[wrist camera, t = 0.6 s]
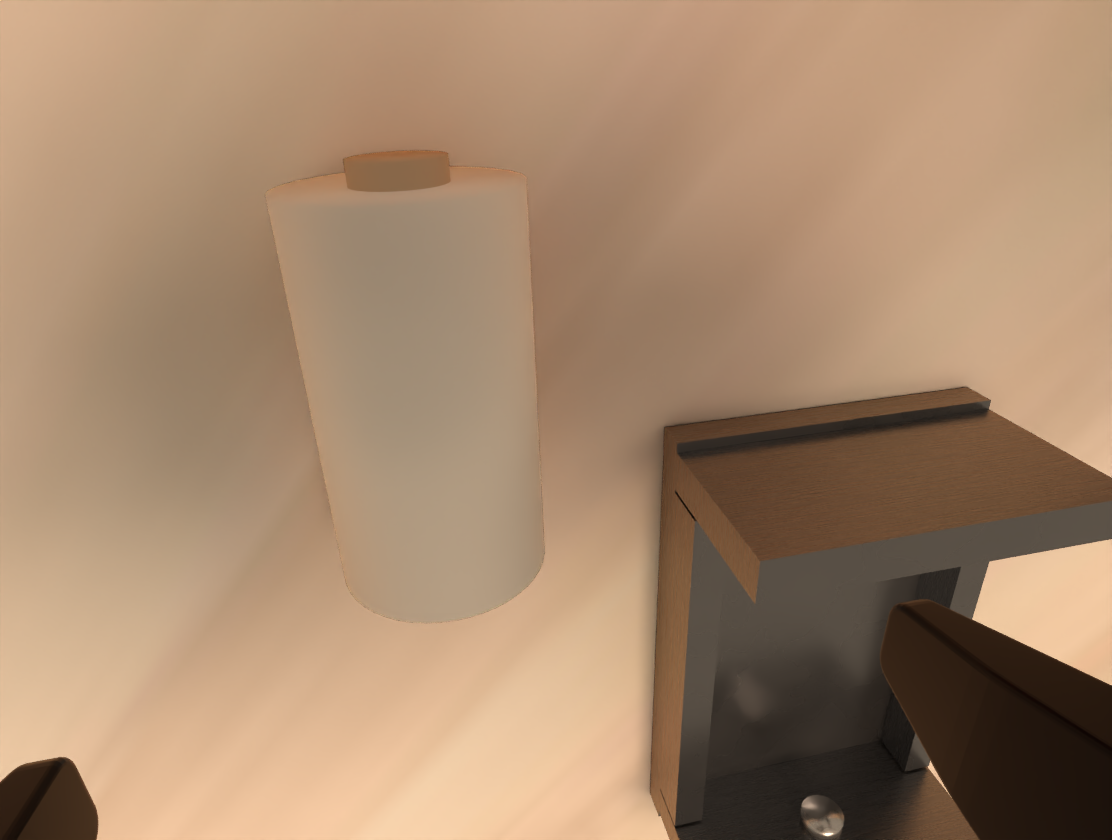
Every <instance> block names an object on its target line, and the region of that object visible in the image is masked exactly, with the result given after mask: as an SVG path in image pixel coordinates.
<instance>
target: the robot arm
mask: <svg viewBox="0 0 1112 840" xmlns="http://www.w3.org/2000/svg"><path fill="white" fill-rule="evenodd" d="M880 663H881V668H882V671H883V673H884V676H885V678H886V680H887V681H888V683H889V685H890V687H891V689H892V691H893V693H894V694H895V696H896V698H897V700H898V702H899V704H900V705H901V707H902V709H903V711H904V713H905V715H906V716H907V718H908V720H909V722H910V724H911V726H912V727H913V729H914V731H915V733H916V735H917V737H918V739H919V740H920V742H921V744H922V746H923V748H924V750H925V751H926V753H927V755H928V757H929V759H930V761H931V762H932V764H933V766H934V768H935V770H936V772H937V773H938V775H939V777H940V779H941V780H942V782H943V784H944V786H945V787H946V789H947V791H948V792H949V794H950V796H951V797H952V799H953V801H954V802H955V804H956V805H957V807H958V808H959V810H960V812H961V813H962V815H963V816H964V818H965V819H966V821H967V822H968V824H969V825H970V827H971V828H972V830H973V831H974V833H975V834H976V836H977V837H978V839H979V840H1112V685H1109V684H1107V683H1105V682H1103V681H1101V680H1099V679H1097V678H1095V677H1092V676H1090V675H1088V674H1086V673H1084V672H1082V671H1080V670H1078V669H1076V668H1073V667H1071V666H1069V665H1067V664H1065V663H1063V662H1061V661H1059V660H1057V659H1054V658H1052V657H1050V656H1048V655H1046V654H1044V653H1042V652H1040V651H1038V650H1035V649H1033V648H1031V647H1029V646H1027V645H1025V644H1023V643H1021V642H1018V641H1016V640H1014V639H1012V638H1010V637H1008V636H1006V635H1004V634H1002V633H999V632H997V631H995V630H993V629H991V628H989V627H987V626H985V625H983V624H980V623H978V622H976V621H974V620H972V619H970V618H968V617H966V616H963V615H961V614H959V613H957V612H955V611H953V610H951V609H949V608H947V607H944V606H942V605H940V604H938V603H936V602H934V601H931V600H927V599H919V600H913V601H908V602H903V603H898V604H896V605H894V606H893V607H892V609H891V610H890V613H889V616H888V620H887V624H886V629H885V633H884V637H883V642H882V646H881V650H880ZM97 834H98V815H97V810H96V807H95V805H94V803H93V801H92V799H91V796H90V794H89V792H88V790H87V788H86V786H85V784H84V782H83V780H82V778H81V776H80V774H79V772H78V770H77V768H76V766H75V764H74V763H73V761H71V760H70V759H68V758H66V757H58V758H53V759H47V760H42V761H37V762H31V763H26V764H23V765H21V766H19V767H17V768H16V769H14V770H13V771H12V772H11V773H9V774H8V775H7V776H6V777H5V778H4V779H3V780H2V781H1V782H0V840H96V839H97Z"/></svg>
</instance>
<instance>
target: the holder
mask: <svg viewBox="0 0 1112 840" xmlns="http://www.w3.org/2000/svg"><path fill="white" fill-rule="evenodd" d="M990 402H991V400H990V399H988V398H986V397H984V396H982V395H980V394H979V393H977V392H975V391H973V390H971V389H969V388H968V387H965V388H958V389H950V390H943V391H935V392H928V393H920V394H913V395H905V396H898V397H890V398H882V399H875V400H867V401H860V402H852V403H845V404H837V405H830V406H822V407H815V408H807V409H800V410H792V411H785V412H777V413H770V414H762V415H754V416H747V417H739V418H732V419H724V420H717V421H709V422H702V423H694V424H687V425H679V426H672V427H665V430H664V455H663V481H662V506H661V531H660V556H659V581H658V606H657V631H656V657H655V682H654V707H653V732H652V757H651V782H650V794H651V797H652V799H653V802H654V805H655V807H656V810H657V813H658V816H661V818H662V820H663V823H664V826H665V828H666V831H667V834H668V837H669V839H670V840H979V839H978V837H977V836H976V834H975V833H974V831H973V830H972V828H971V827H970V825H969V824H968V822H967V821H966V819H965V818H964V816H963V815H962V813H961V812H960V810H959V808H958V807H957V805H956V804H955V802H954V801H953V799H952V798H951V797H950V795H949V794H948V793H947V792H946V790H945V789H944V788H943V786H942V785H941V784H940V783H939V781H938V780H937V779H936V778H935V776H934V775H933V774H932V772H931V771H930V770H929V769H928V767H927V766H929V763H930V759H929V757H928V755H927V753H926V751H925V750H924V748H923V746H922V744H921V742H920V740H919V739H918V737H917V735H916V733H915V731H914V729H913V727H912V726H911V724H910V722H909V720H908V718H907V716H906V715H905V713H904V711H903V709H902V707H901V705H900V704H899V702H898V700H897V698H896V696H895V694H894V693H893V691H892V689H891V687H890V685H889V683H888V681H887V680H886V678H885V676H884V673H883V671H882V668H881V663H880V650H881V646H882V642H883V637H884V633H885V629H886V624H887V620H888V616H889V613H890V610H891V609H892V607H893V606H894V605H896V604H898V603H903V602H908V601H913V600H919V599H927V600H931V601H934V602H936V603H938V604H940V605H942V606H944V607H947V608H949V609H951V610H953V611H955V612H957V613H959V614H961V615H963V616H966V617H968V618H970V619H972V618H973V614H974V611H975V608H976V604H977V601H978V597H979V594H980V591H981V587H982V584H983V581H984V577H985V574H986V570H987V567H988V564H989V561H994V560H999V559H1005V558H1010V557H1016V556H1021V555H1027V554H1032V553H1037V552H1043V551H1048V550H1054V549H1059V548H1065V547H1070V546H1076V545H1081V544H1086V543H1092V542H1097V541H1103V540H1108V539H1112V478H1111V477H1109V476H1107V475H1105V474H1104V473H1102V472H1100V471H1098V470H1096V469H1095V468H1093V467H1091V466H1089V465H1088V464H1086V463H1084V462H1082V461H1080V460H1079V459H1077V458H1075V457H1073V456H1071V455H1070V454H1068V453H1066V452H1064V451H1062V450H1061V449H1059V448H1057V447H1055V446H1054V445H1052V444H1050V443H1048V442H1046V441H1045V440H1043V439H1041V438H1039V437H1037V436H1036V435H1034V434H1032V433H1030V432H1029V431H1027V430H1025V429H1023V428H1021V427H1020V426H1018V425H1016V424H1014V423H1012V422H1011V421H1009V420H1007V419H1005V418H1003V417H1002V416H1000V415H998V414H996V413H995V412H993V411H991V410H989V406H990Z"/></svg>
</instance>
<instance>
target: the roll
mask: <svg viewBox="0 0 1112 840" xmlns="http://www.w3.org/2000/svg"><path fill="white" fill-rule="evenodd" d="M343 163H344V169H345V173H338V174H331V175H324V176H318V177H312V178H307V179H302V180H298V181H293V182H289V183H286V184H282V185H279V186H276V187H274V188H272V189H270V190H268V191H267V192H266V194H265V197H266V202H267V207H268V212H269V217H270V221H271V226H272V231H273V236H274V241H275V245H276V250H277V255H278V260H279V265H280V269H281V274H282V279H283V284H284V289H285V293H286V298H287V303H288V308H289V313H290V317H291V322H292V327H293V332H294V337H295V341H296V346H297V351H298V356H299V361H300V365H301V370H302V375H303V380H304V385H305V389H306V394H307V399H308V404H309V409H310V413H311V418H312V423H313V428H314V433H315V437H316V442H317V447H318V452H319V457H320V461H321V466H322V471H323V476H324V481H325V485H326V490H327V495H328V500H329V505H330V509H331V514H332V519H333V524H334V529H335V533H336V538H337V543H338V548H339V553H340V557H341V562H342V567H343V572H344V577H345V581H346V584H347V587H348V589H349V591H350V593H351V594H352V595H353V597H354V598H355V599H356V600H357V601H358V602H359V603H360V604H362V605H363V606H364V607H365V608H367V609H369V610H371V611H372V612H374V613H377V614H379V615H381V616H384V617H387V618H391V619H394V620H398V621H405V622H411V623H442V622H450V621H456V620H461V619H465V618H470V617H473V616H476V615H479V614H482V613H485V612H487V611H490V610H492V609H495V608H497V607H499V606H501V605H502V604H504V603H506V602H508V601H509V600H511V599H512V598H514V597H515V596H517V595H518V594H519V593H521V592H522V591H523V590H524V589H525V588H526V587H527V586H528V585H529V584H530V583H531V582H532V581H533V579H534V578H535V577H536V575H537V573H538V572H539V570H540V568H541V565H542V563H543V559H544V554H545V552H544V527H543V506H542V486H541V465H540V445H539V424H538V404H537V383H536V363H535V342H534V322H533V301H532V281H531V260H530V240H529V219H528V199H527V178H526V176H525V175H523V174H521V173H518V172H515V171H510V170H504V169H496V168H485V167H462V166H449V158H448V153H446V152H441V151H392V152H379V153H369V154H362V155H355V156H351V157H347V158H344V159H343Z"/></svg>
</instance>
